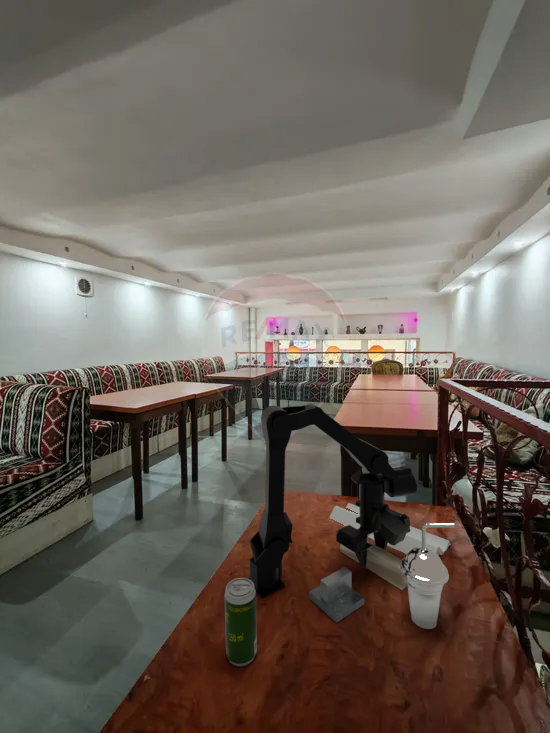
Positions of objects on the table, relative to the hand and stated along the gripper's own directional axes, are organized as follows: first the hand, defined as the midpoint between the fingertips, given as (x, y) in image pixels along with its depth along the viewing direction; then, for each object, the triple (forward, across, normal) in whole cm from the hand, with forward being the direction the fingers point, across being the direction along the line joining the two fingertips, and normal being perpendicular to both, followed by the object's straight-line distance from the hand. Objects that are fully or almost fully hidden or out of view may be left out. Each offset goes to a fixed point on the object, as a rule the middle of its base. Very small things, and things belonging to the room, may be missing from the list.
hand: (371, 562), depth 83 cm
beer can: (+1, -37, -2) cm, 37 cm away
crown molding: (+2, +15, +8) cm, 17 cm away
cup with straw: (+1, -5, -17) cm, 17 cm away
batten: (+1, 0, 0) cm, 1 cm away
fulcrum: (+1, -15, -3) cm, 15 cm away
